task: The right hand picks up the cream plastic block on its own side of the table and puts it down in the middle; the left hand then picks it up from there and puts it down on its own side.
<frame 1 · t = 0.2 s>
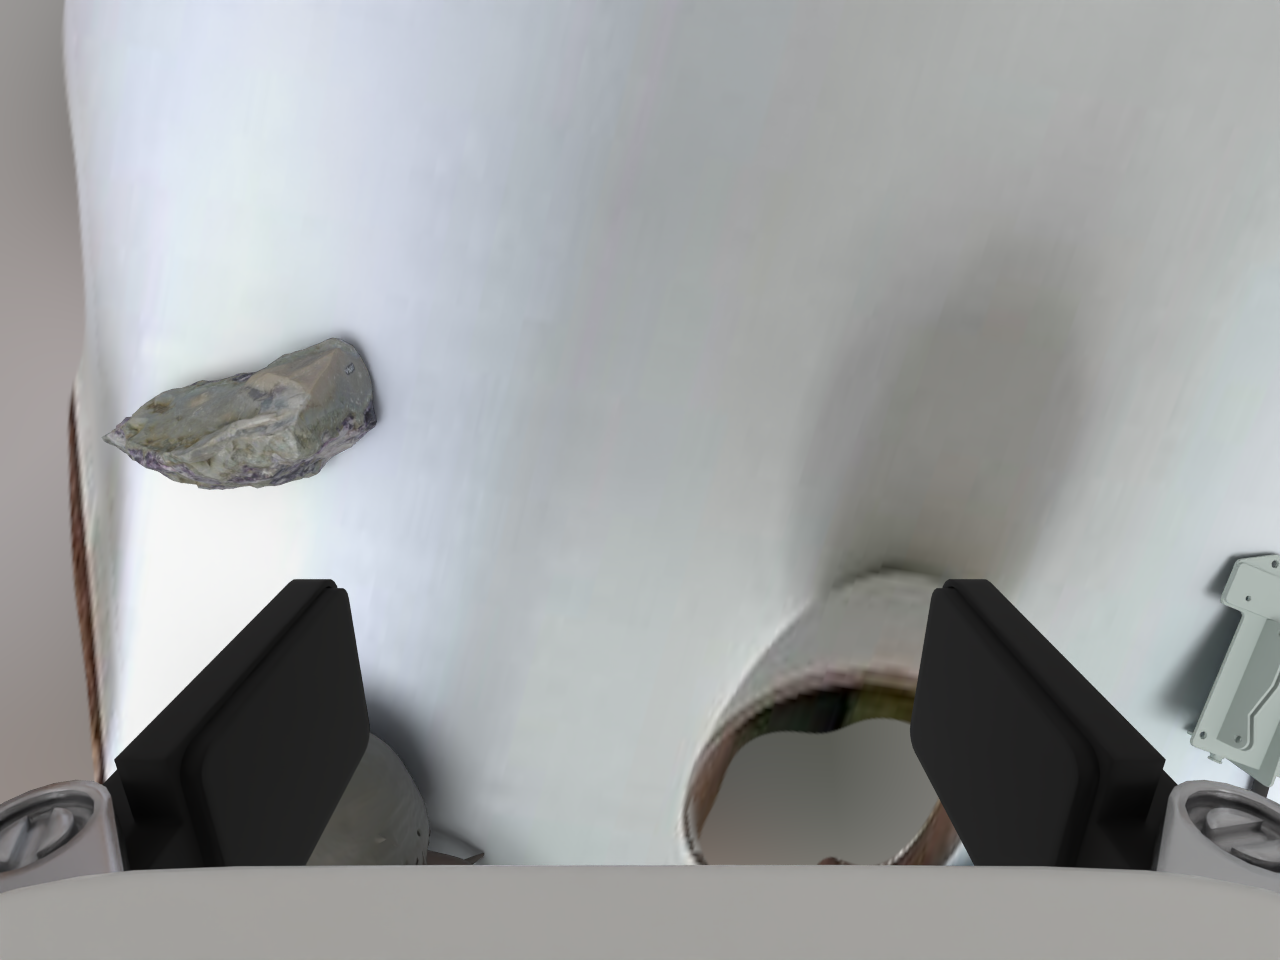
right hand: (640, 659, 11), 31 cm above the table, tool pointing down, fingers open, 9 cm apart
sculpture: (437, 869, 54), on the table
metal bracket: (1261, 665, 48), on the table
mineral rock: (272, 400, 41), on the table
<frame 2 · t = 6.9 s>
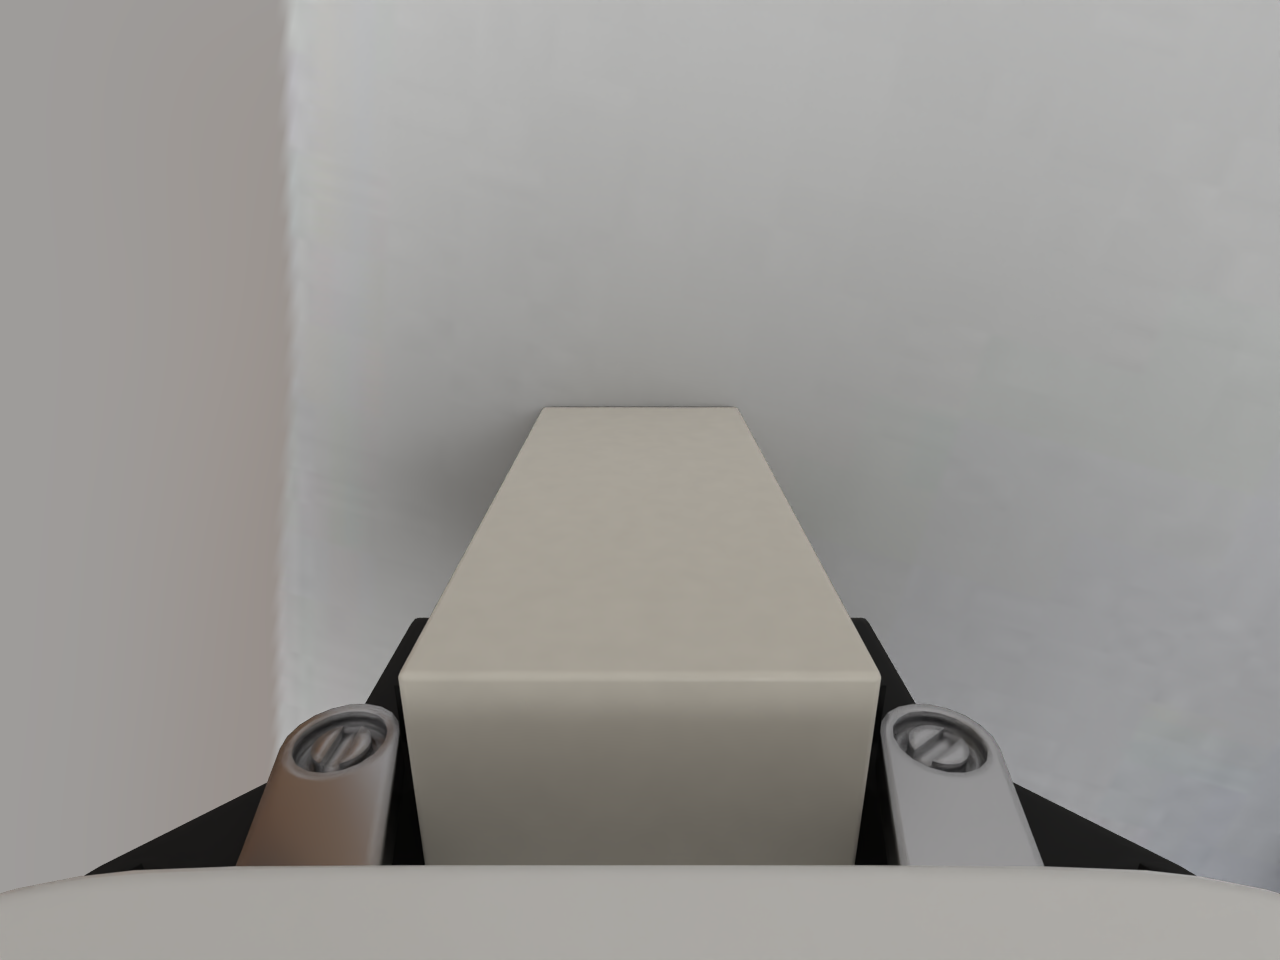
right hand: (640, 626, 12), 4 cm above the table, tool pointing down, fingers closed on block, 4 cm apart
block: (640, 525, 16), on the table, touching right hand
when the right hand's fingers open (6 cm above the table, at t = 12.8 s): block drops 1 cm, on the table.
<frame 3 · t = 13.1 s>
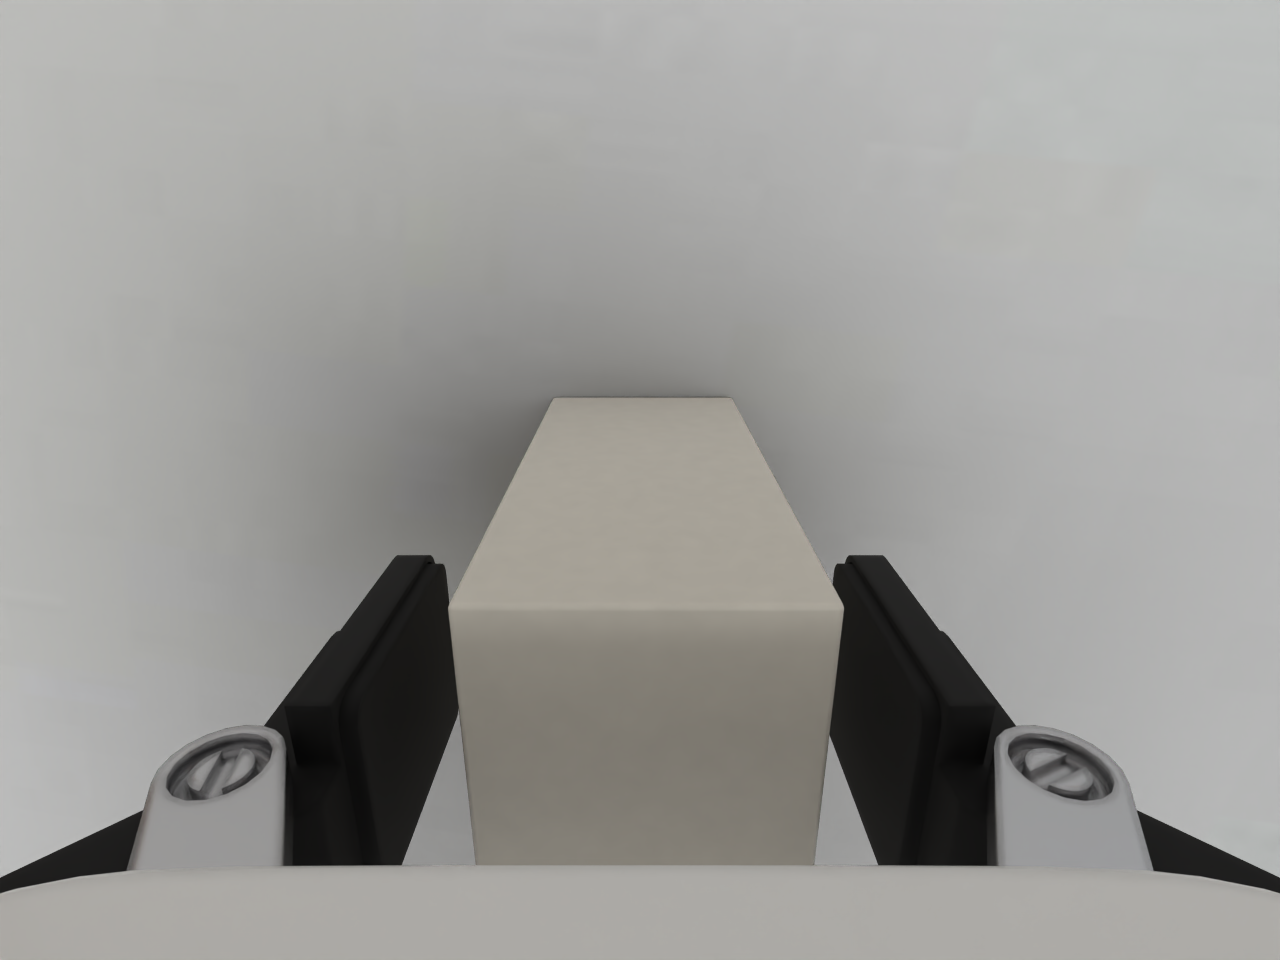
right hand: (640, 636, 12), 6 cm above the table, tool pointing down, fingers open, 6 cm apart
block: (642, 507, 17), on the table
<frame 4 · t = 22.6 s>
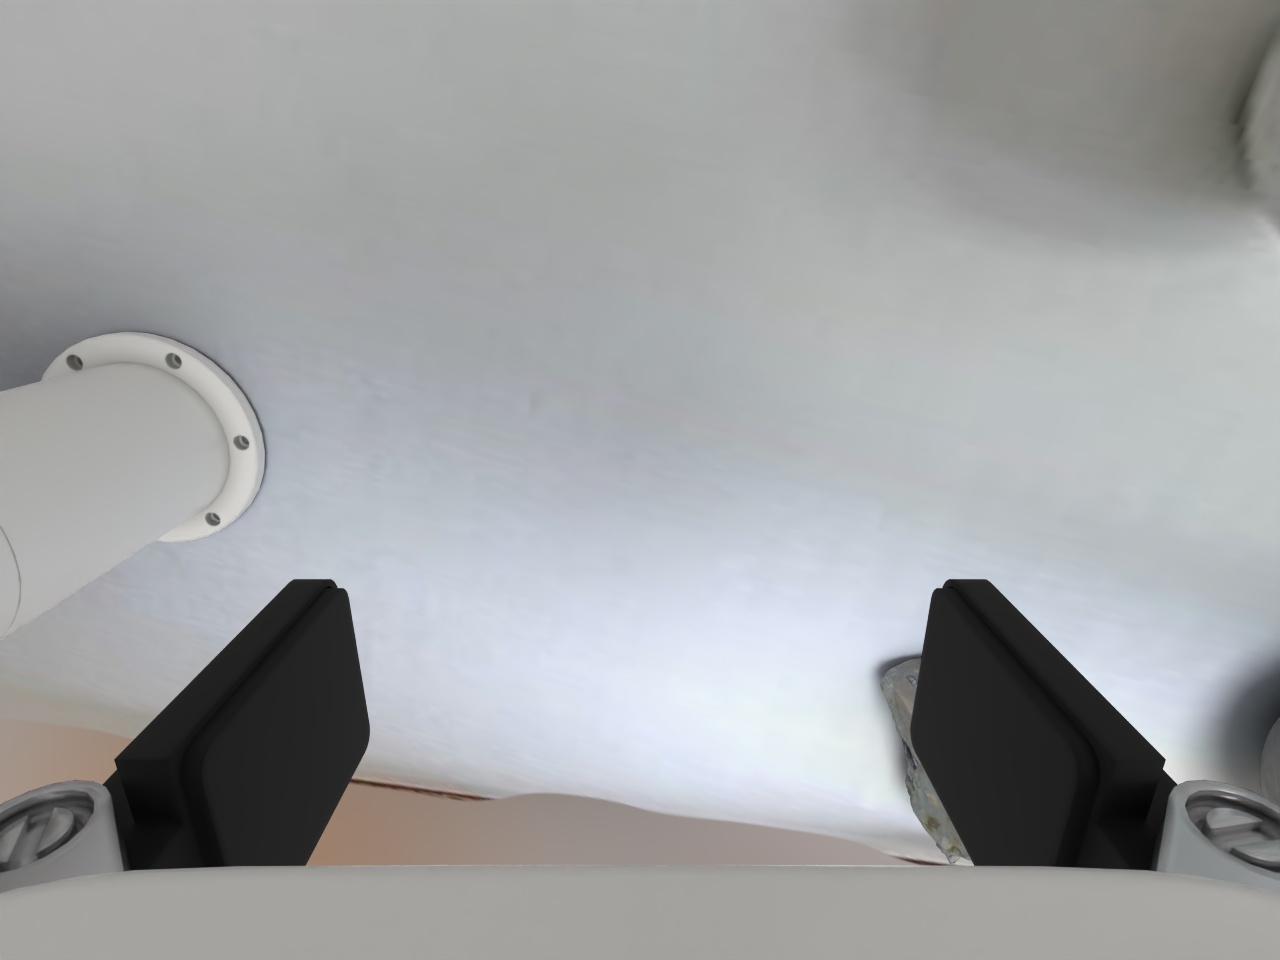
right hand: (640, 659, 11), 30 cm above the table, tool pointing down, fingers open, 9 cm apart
mineral rock: (923, 729, 48), on the table
when the left hand's fingers open (6 cm above the table, at t = 29.3 s): block drops 1 cm, on the table.
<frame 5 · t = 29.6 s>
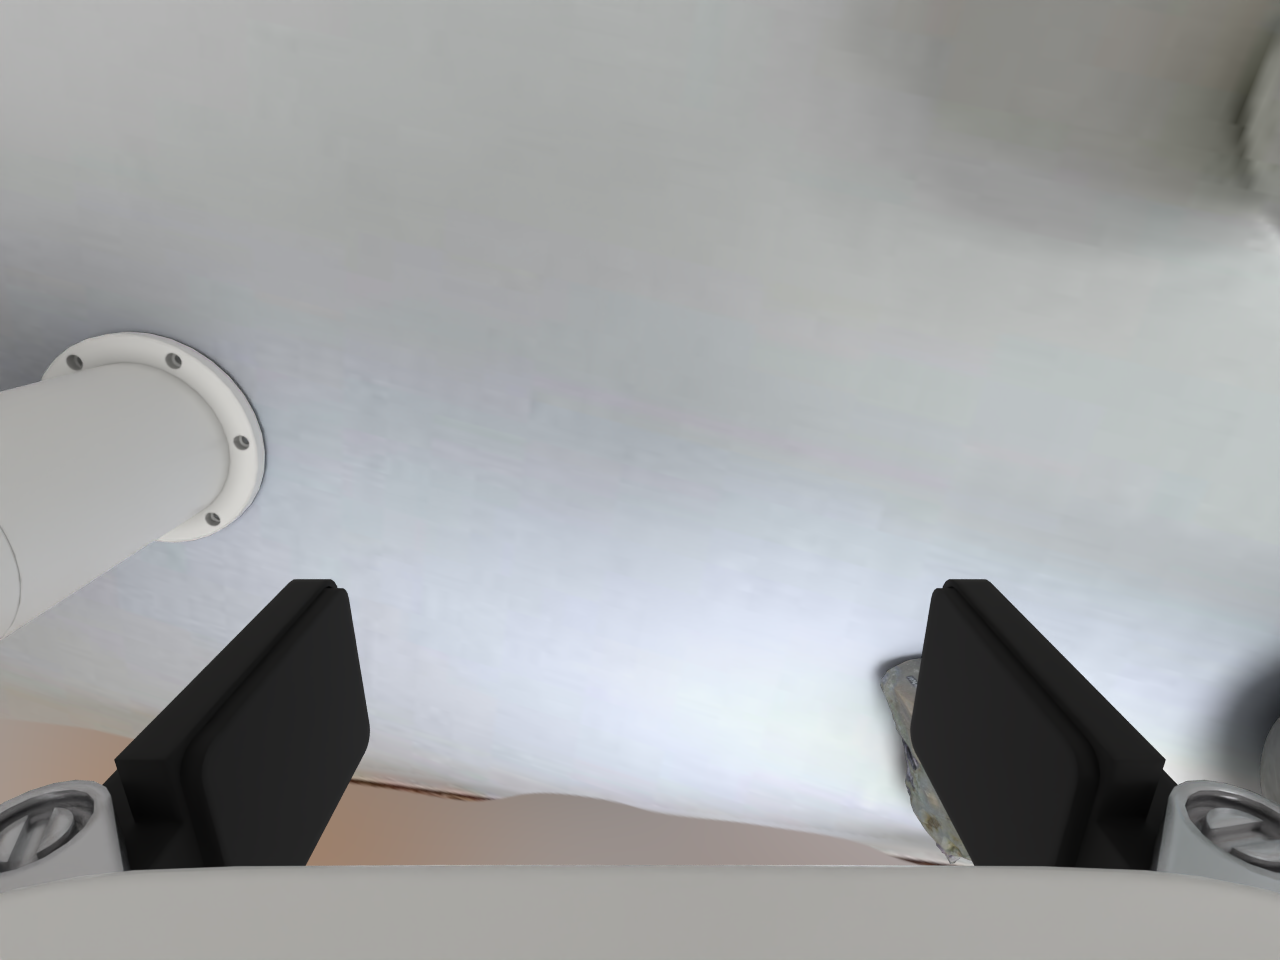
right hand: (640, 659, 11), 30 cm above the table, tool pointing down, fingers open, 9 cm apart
mineral rock: (923, 729, 48), on the table
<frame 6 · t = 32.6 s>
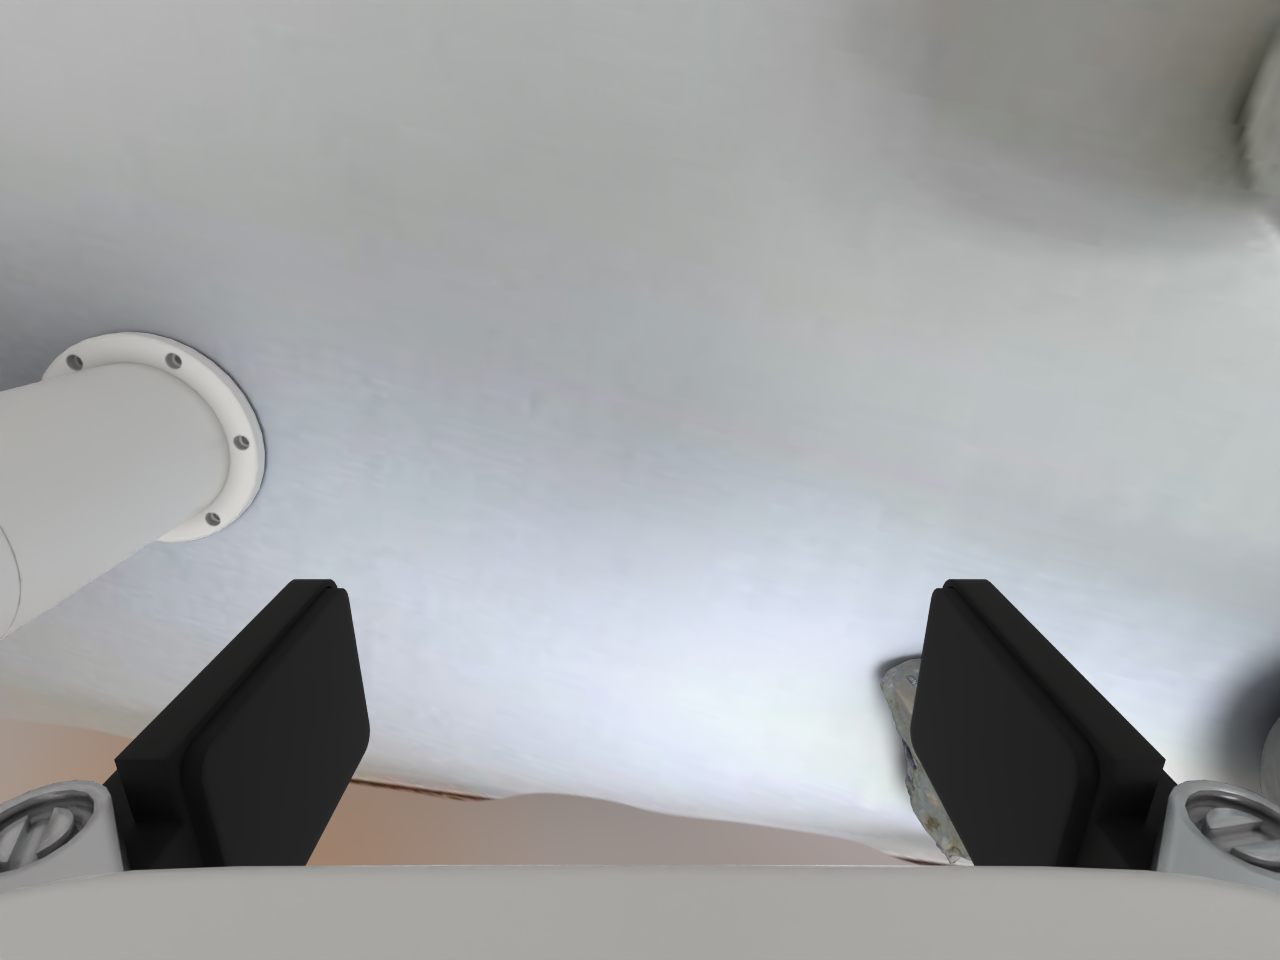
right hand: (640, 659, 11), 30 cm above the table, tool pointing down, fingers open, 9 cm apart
mineral rock: (923, 729, 48), on the table
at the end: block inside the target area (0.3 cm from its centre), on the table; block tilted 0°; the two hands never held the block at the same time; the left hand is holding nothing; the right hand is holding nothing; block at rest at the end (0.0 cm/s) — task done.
